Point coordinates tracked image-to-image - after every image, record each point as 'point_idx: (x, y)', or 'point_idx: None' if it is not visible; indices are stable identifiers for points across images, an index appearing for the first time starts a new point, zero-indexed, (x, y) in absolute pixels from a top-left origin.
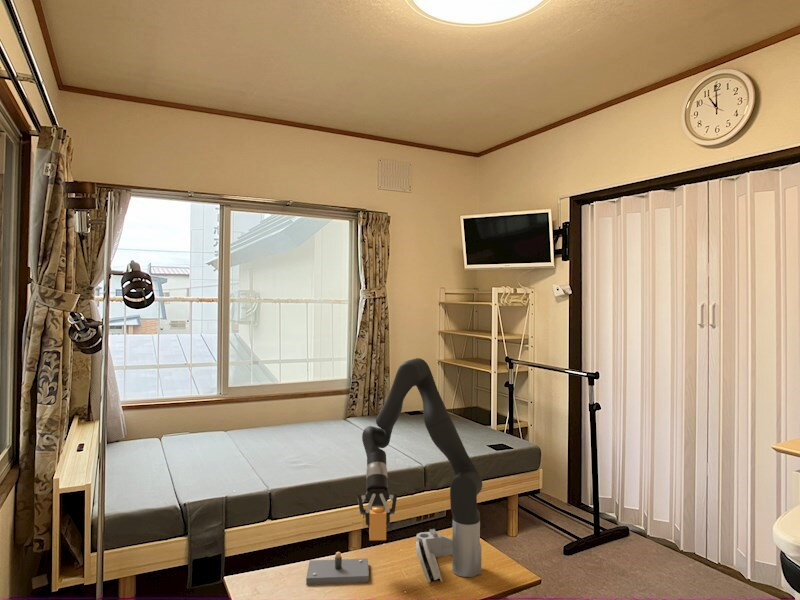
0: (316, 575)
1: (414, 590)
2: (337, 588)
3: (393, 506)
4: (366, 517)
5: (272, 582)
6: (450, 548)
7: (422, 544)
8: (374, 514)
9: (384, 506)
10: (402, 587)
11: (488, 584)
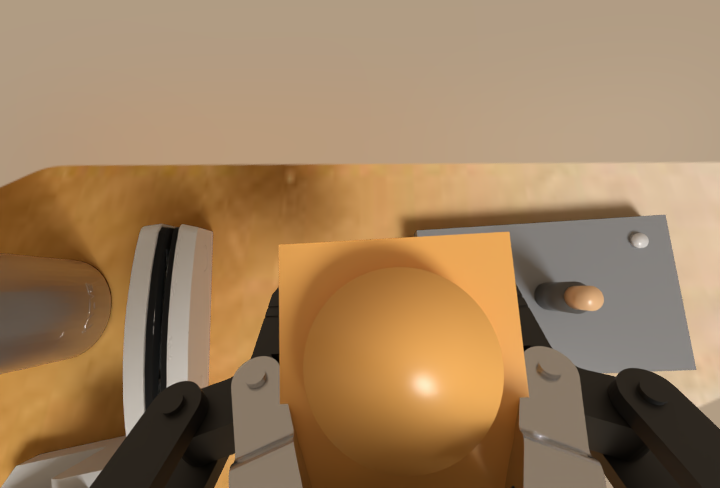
0: (628, 236)
1: (260, 181)
2: (521, 194)
3: (147, 450)
4: (525, 318)
5: None
6: (66, 469)
7: (149, 342)
8: (439, 236)
9: (289, 436)
10: (297, 200)
11: (23, 217)
